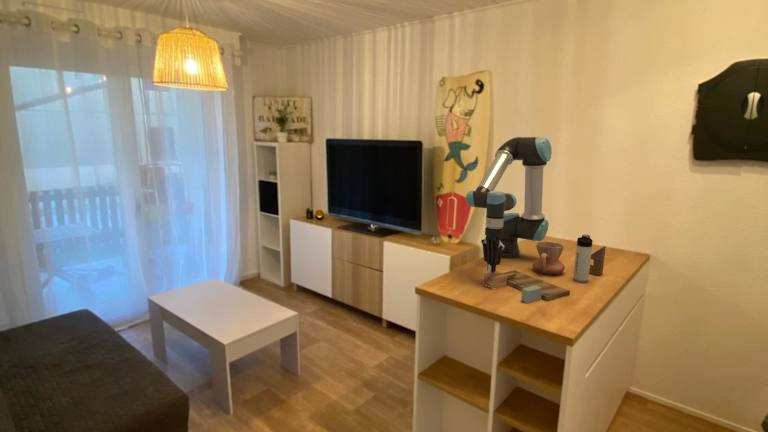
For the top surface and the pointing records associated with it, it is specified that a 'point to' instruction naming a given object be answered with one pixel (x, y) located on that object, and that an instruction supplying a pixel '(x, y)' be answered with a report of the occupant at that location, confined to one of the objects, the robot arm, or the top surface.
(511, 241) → the robot arm
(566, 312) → the top surface
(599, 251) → the wooden block
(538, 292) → the block
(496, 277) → the brown wooden handled block
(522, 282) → the board
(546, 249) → the ceramic jug
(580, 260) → the travel mug
